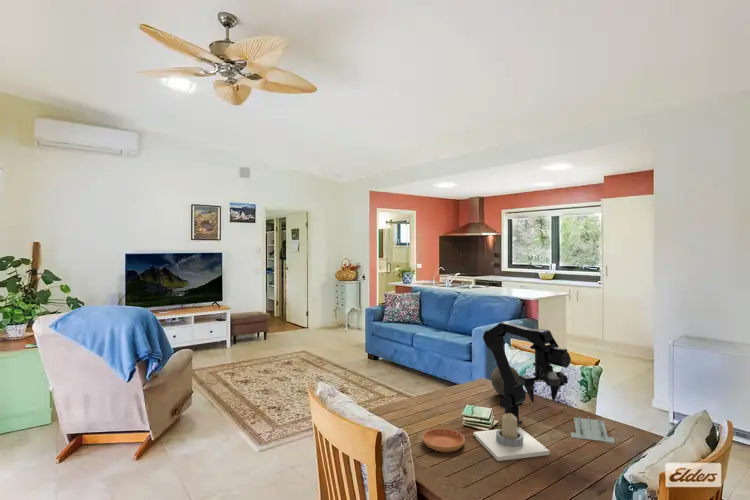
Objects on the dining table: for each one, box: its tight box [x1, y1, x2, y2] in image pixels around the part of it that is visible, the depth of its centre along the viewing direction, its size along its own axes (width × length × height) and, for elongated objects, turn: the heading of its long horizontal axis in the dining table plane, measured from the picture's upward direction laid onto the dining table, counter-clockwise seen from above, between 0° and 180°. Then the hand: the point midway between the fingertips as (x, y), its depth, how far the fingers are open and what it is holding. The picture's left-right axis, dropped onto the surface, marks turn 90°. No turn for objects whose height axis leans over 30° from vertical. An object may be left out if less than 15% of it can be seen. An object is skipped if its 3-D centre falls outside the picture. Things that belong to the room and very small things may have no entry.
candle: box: [501, 413, 518, 439], centre depth 158 cm, size 6×6×10 cm
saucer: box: [421, 428, 466, 453], centre depth 159 cm, size 16×16×3 cm
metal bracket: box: [570, 416, 616, 444], centre depth 166 cm, size 14×6×15 cm
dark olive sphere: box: [490, 366, 520, 397], centre depth 209 cm, size 14×14×15 cm
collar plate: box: [473, 426, 551, 462], centre depth 158 cm, size 20×20×4 cm
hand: (542, 400), depth 167 cm, fingers open, 9 cm apart
